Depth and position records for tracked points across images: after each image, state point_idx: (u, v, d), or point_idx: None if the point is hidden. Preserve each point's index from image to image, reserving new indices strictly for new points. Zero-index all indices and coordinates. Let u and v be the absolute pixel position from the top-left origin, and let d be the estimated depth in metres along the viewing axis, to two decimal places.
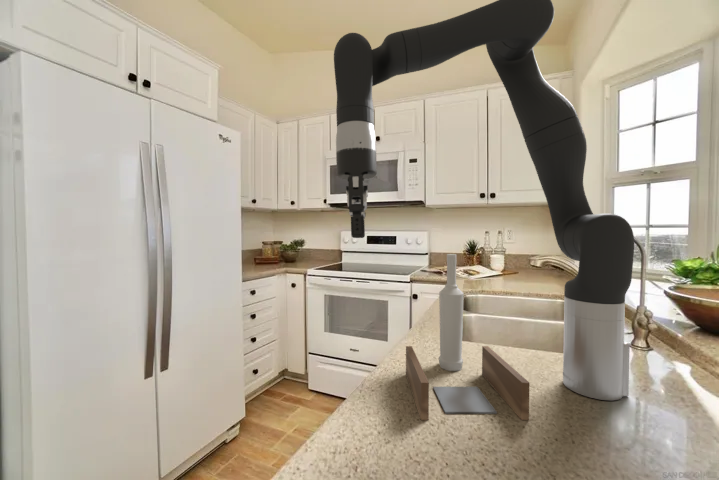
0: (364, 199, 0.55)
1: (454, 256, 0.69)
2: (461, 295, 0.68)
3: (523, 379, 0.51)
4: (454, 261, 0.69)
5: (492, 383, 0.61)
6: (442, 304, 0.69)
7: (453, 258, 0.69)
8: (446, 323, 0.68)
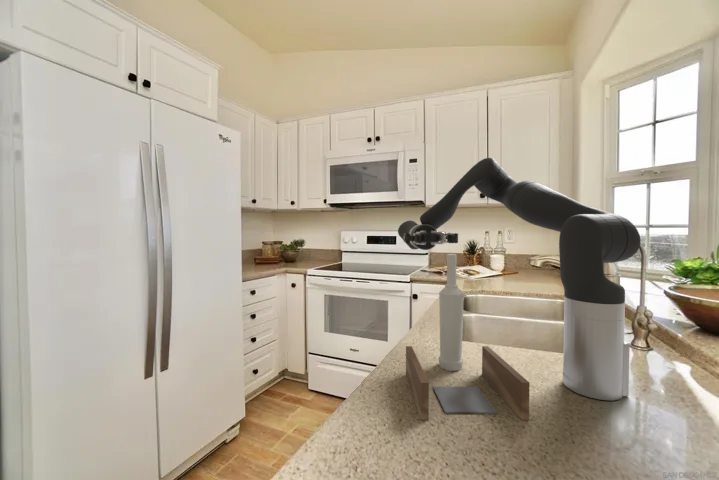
0: None
1: (454, 256, 0.69)
2: (461, 295, 0.68)
3: (523, 379, 0.51)
4: (454, 261, 0.69)
5: (492, 383, 0.61)
6: (442, 304, 0.69)
7: (453, 258, 0.69)
8: (446, 322, 0.68)
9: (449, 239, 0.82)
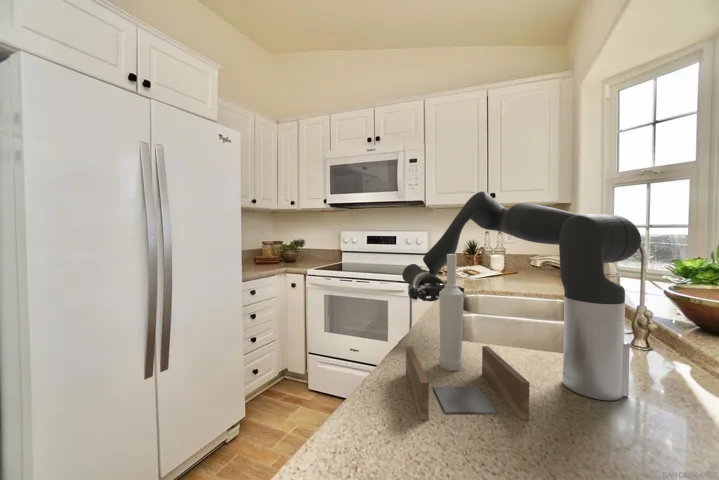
0: (421, 286, 0.84)
1: (454, 256, 0.69)
2: (461, 295, 0.68)
3: (523, 379, 0.51)
4: (454, 261, 0.69)
5: (492, 383, 0.61)
6: (442, 304, 0.69)
7: (453, 258, 0.69)
8: (446, 322, 0.68)
9: None
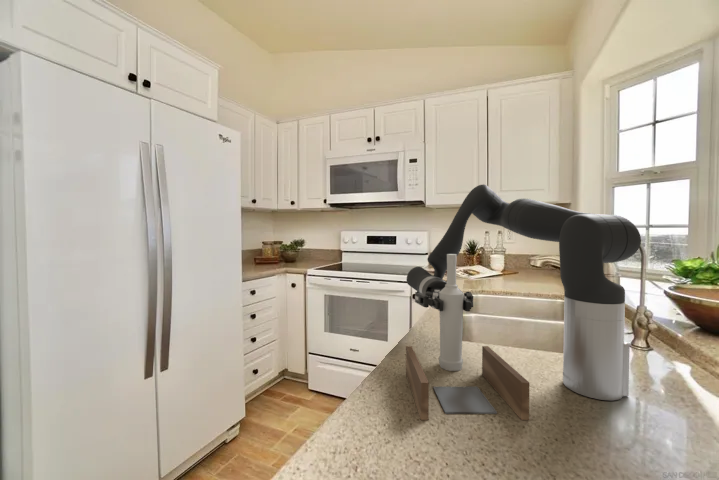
0: (433, 294, 0.74)
1: (454, 256, 0.69)
2: (461, 295, 0.68)
3: (523, 379, 0.51)
4: (454, 261, 0.69)
5: (492, 383, 0.61)
6: None
7: (453, 258, 0.69)
8: (446, 322, 0.68)
9: (463, 305, 0.69)
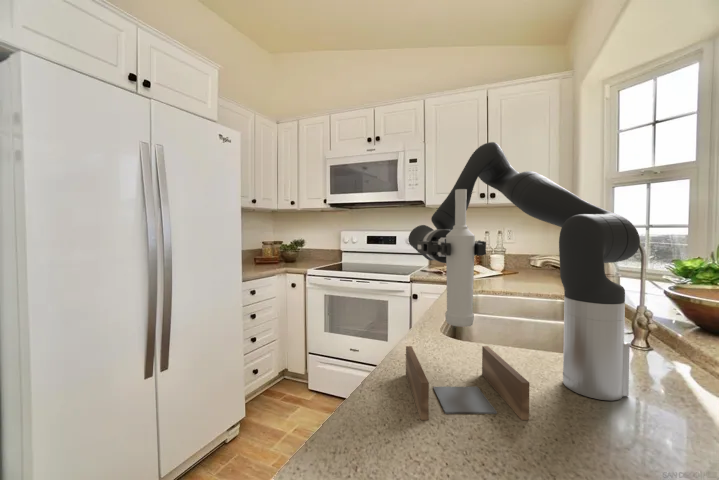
0: (438, 240, 0.63)
1: (464, 191, 0.58)
2: (472, 236, 0.57)
3: (523, 379, 0.51)
4: (464, 197, 0.58)
5: (492, 383, 0.61)
6: None
7: (463, 193, 0.58)
8: (454, 269, 0.57)
9: None
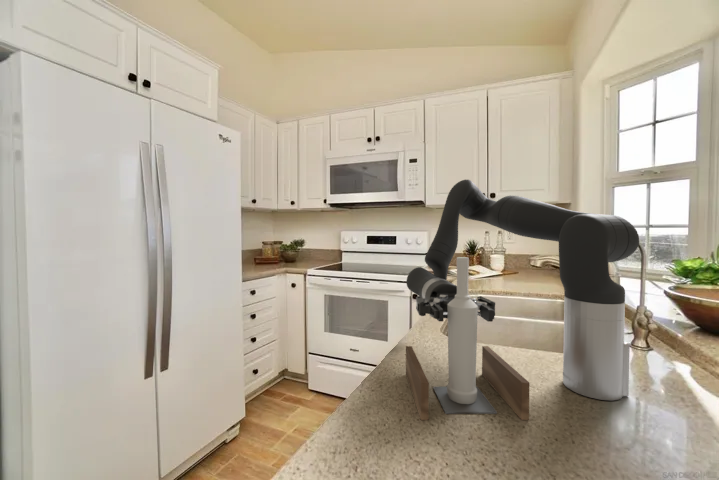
0: None
1: (466, 260, 0.55)
2: (475, 308, 0.54)
3: (523, 379, 0.51)
4: (466, 266, 0.55)
5: (492, 383, 0.61)
6: (451, 319, 0.55)
7: (465, 262, 0.55)
8: (456, 343, 0.54)
9: (483, 313, 0.56)
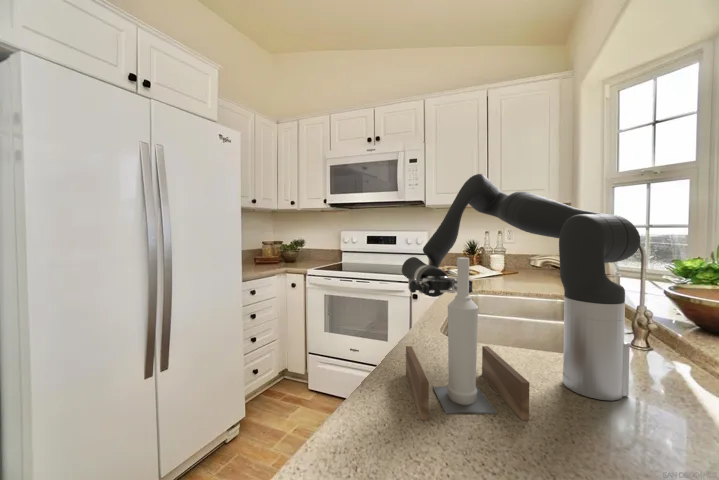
0: None
1: (467, 260, 0.55)
2: (476, 309, 0.54)
3: (523, 379, 0.51)
4: (467, 267, 0.55)
5: (492, 383, 0.61)
6: (451, 320, 0.55)
7: (466, 263, 0.55)
8: (457, 344, 0.54)
9: None
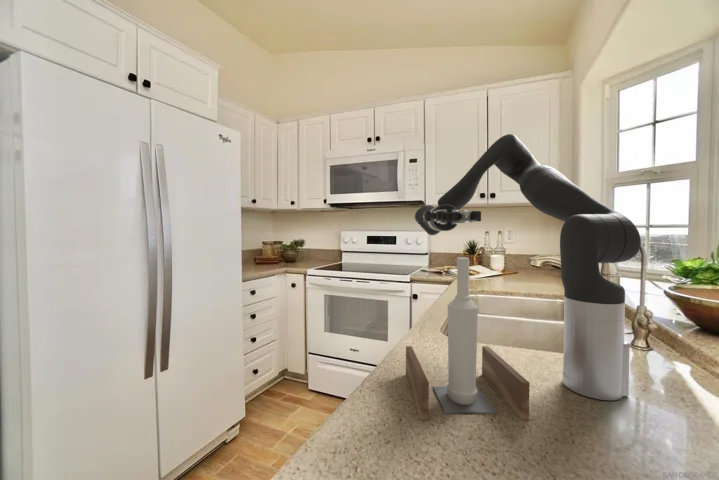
0: (437, 211, 0.83)
1: (466, 260, 0.55)
2: (475, 309, 0.54)
3: (523, 379, 0.51)
4: (466, 266, 0.55)
5: (492, 383, 0.61)
6: (451, 320, 0.55)
7: (465, 263, 0.55)
8: (457, 344, 0.54)
9: (472, 216, 0.79)
